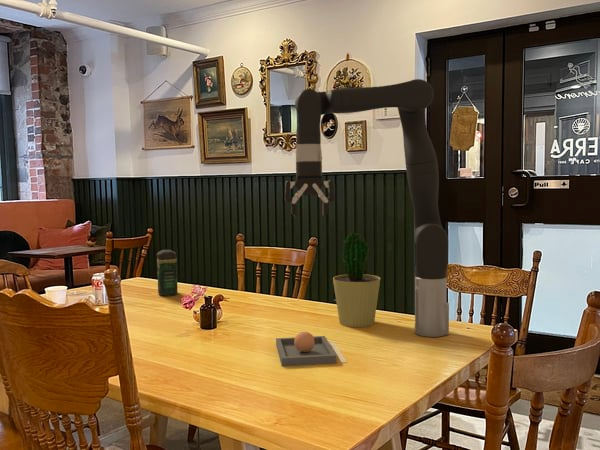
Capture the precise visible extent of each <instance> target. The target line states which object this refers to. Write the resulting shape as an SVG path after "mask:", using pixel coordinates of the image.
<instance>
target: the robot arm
mask: <svg viewBox="0 0 600 450" xmlns="http://www.w3.org/2000/svg"><path fill="white" fill-rule="evenodd" d="M434 95H435V94H434V89H433V86H432V85H431V84H430V83H429V82H428V81H426V80H425V79H421V78H420V79H419V78H415V79H414V78H413V79H411V80H407V81H404V82H399V83H394V84H389V85H381V86H368V87H367V86H366V87H364V86H363V87H362V86H361V87H345V88H344V87H343V88H342V87H340V88H334V89H330V90H327V91H317V90H315V89H313V88H306V89H304V90H301V91H300V92H299V93H298V94H297V96H296V98H295V101H294V107H295V109H296V111H297V113H296V114H297V127H296V131H295V132H296V147H295V148H296V149H295V181H289V180H286V181H285V183H284V185H285V187H284V201H285V202H287V203H290V205H291V206H290V207H291V208H290V209H291V215H292V216H293V217H294V218H296V217H298V212H297V211H298V210H297V209H298V207H297V206H298V205H297V202H298V200H300V198H301V196H304V197H305V196H316V195H317V196H318V197H319V199H320V200H321V201H322V204H321V205H322V208H321V210H322V213H321V214H322V217H326V216H327V215H328V213H329V203H330V202H332V201H335V191H334V181H333V180H331V179H329V180H323V153H322V152H323V151H322V144H321V141H322V140H321V121H322V119H321V118H322V116H323V115H329V114H352V113H361V112H367V111H371V110H372V111H373V110H377V109H378V110H379V109H387V108H397V111H398V115H399V120H400V124H401V128H402V135H403V137H402V139H403V149H404V158H405V159H404V161H405V169H406V178H407V184H408V189H409V194H410V198H411V201H412V202H411V203H412V207H413V219H414V220H413V222H414V225H413V226H414V232H413V233H414V235H413V236H414V237H413V239H414V243H415V266H414V333H415V334H416V335H418V336H422V337H427V338H428V337H429V338H438V337H444V336H446V335H447V336H448V335H450V331H449V330H450V303H449V302H447V289H448V288H447V281H448V279H447V275H448V274H447V273H448V272H447V271H448V267H449V266H448V265H449V237H448V233H447V231H446V230H445V228H443V225H442V222H441V217H440V216H441V215H440V210H439V192H440V191H439V187H440V179H439V178H440V177H439V175H440V173H439V165H438V158H437V157H438V156H437V153H436V150H435V148H434V144H433V142H432V139H431V137H430V134H429V132H428V129H427V121H426V109H427V108H428V107H429V106H430V105H431V103H432V102H433V100H434ZM294 186H295V187H296V189H297V191H296V192H295V194H294V196H293V197H292V198H290V197H291V190H292V189H293V187H294ZM324 186H325V188H327V194H328V196H327V197H326V195H325V194H324V192H323V191H322V188H323V187H324Z"/></svg>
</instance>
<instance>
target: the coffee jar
mask: <svg viewBox="0 0 600 450" xmlns="http://www.w3.org/2000/svg"><path fill="white" fill-rule="evenodd" d="M156 265H157V266H156V267H157V293H158V295H160V296H166V297H169V296H173V295H177V294H178V259H177V252H175V251H173V250H171V249H161V250H160V251H158V252H157V253H156Z"/></svg>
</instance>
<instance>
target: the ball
mask: <svg viewBox="0 0 600 450" xmlns="http://www.w3.org/2000/svg"><path fill="white" fill-rule="evenodd" d="M314 343H315V340H314V337H313V334H311V333H310V332H309V331H300V332H298V333H297V334H296V335H295V340H294V344H295V347H296V348H297V350H299V351H300V352H308V351H310V350H311V349H312V348H313V347H314Z"/></svg>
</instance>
